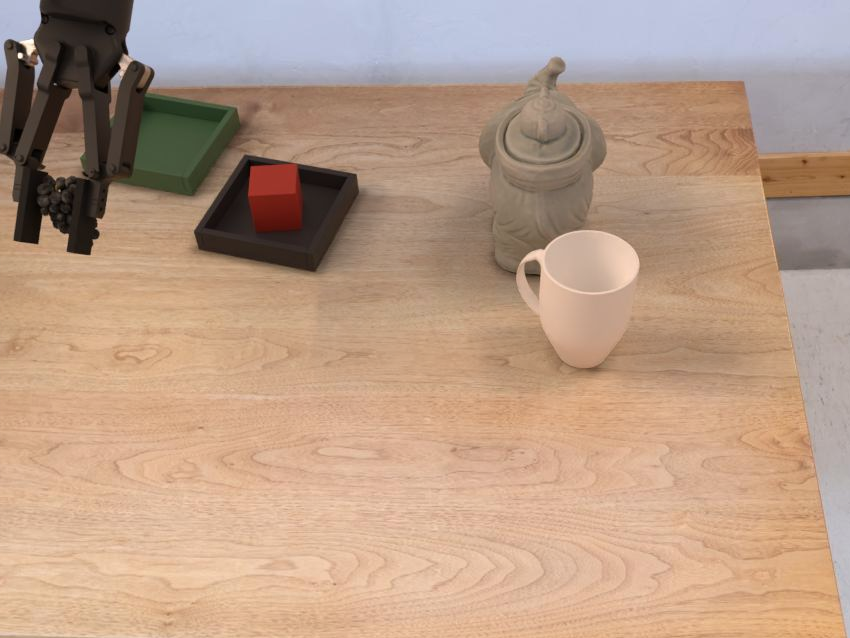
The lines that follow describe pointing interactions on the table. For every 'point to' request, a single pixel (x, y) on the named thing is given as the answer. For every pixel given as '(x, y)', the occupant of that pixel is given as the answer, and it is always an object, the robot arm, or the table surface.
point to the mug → (583, 294)
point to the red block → (275, 197)
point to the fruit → (59, 202)
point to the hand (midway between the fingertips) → (52, 247)
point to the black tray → (302, 249)
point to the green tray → (179, 142)
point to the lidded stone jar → (539, 168)
